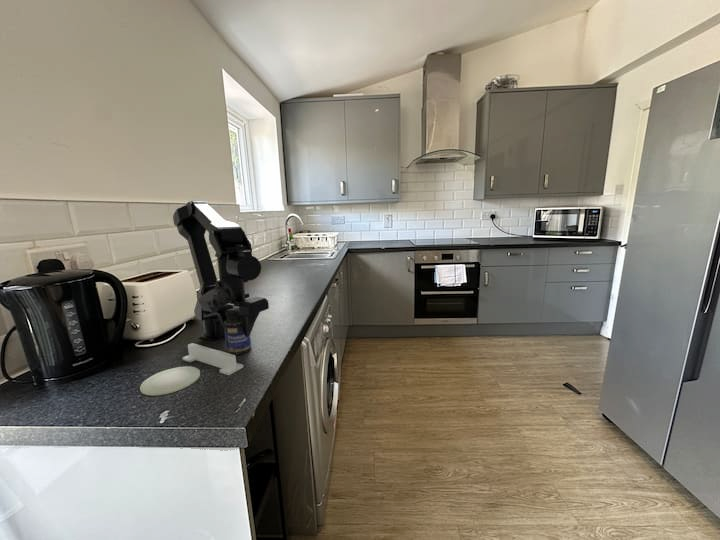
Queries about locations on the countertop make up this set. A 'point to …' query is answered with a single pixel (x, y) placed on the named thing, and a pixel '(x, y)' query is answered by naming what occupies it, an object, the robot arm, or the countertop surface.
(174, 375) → the pad
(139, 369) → the countertop surface
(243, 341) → the pill bottle
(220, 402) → the countertop surface
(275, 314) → the countertop surface
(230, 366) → the low wall
